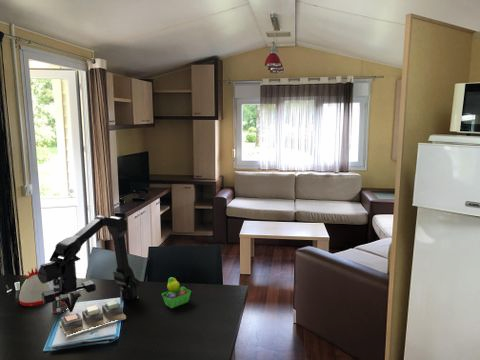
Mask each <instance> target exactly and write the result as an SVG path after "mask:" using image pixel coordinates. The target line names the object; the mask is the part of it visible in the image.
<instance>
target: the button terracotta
mask: <svg viewBox="0 0 480 360" xmlns="http://www.w3.org/2000/svg"><path fill="white" fill-rule="evenodd" d="M73 314H74V315H71V314H69V315H70V316H68V315H66V316H67V317H65V321H66V323H67V322H71V321H74V320H77V319H78V317H77V315H76V314H75V313H73Z"/></svg>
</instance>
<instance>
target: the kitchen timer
mask: <svg viewBox="0 0 480 360" xmlns="http://www.w3.org/2000/svg"><path fill="white" fill-rule="evenodd" d="M27 273H28V275H26V274H24V277H25V278H26V279H25V281H24V282H23V284H22V285H21V287H20V291H19V295H18V300H19V304H20V305H21V306H25V307H34V306H38V305H39V306H40V305H43V304H44V302H43V300H42V297H41V294H42V292H44V291H48V290H53V289H54V288H53V287H52V285H51V283H50V282H47V283H44V284H43V283H41V282H40V280H39V278H38V274H37V273H38V269H37V267H35V269H33V268H31V272H30V271H29V270H28V271H27ZM53 291H54V290H53Z"/></svg>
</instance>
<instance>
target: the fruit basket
mask: <svg viewBox="0 0 480 360" xmlns="http://www.w3.org/2000/svg"><path fill="white" fill-rule="evenodd" d="M166 286H167V287H166V288H167V291H166V292H165V291H164V292H162V293H161V297H162V298H163V301H164V305H166V306H167V307H168V308H170V309H173V308H177V307H179V306H181V305H182V306H183V305H184V304H187V303H189V300H190V297H191V294H192V291H191V290H190V289H187V288H186V287H185V286H181V285H180V282H179V281H177V279H176V278H175V277H172V276H171V277H169V278H168V280H167V285H166Z"/></svg>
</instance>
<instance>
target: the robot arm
mask: <svg viewBox="0 0 480 360" xmlns="http://www.w3.org/2000/svg"><path fill="white" fill-rule="evenodd" d="M104 227H106V228H107V231H108V233H109V234H110V235H111V237H112V241H113V246H114V247H113V248H114V254H115V261H116V266H117V267H116V269H115V270H114V271H113V272H112V273H113V280H114V281H115V282H116V283H117V285H118V286H119V287H120V290H119V293H120V294H119V296H120V299H121V301H123V300H124V301H123V302H124V303H129V302H132V301H136V300H139V298H140V297H139V296H138V289H137V288H138V287H139V286H140V283H141V282H140V279H137V278H136V277H135V273H134V270H133V269H132V267H131V266H130V264H129V257H128V251H127V250H128V249H127V244H126V236H125V235H126V233H127V230H128V222H127V219H126V218H124V217H120V216H114V215H112V216H110V217H107V216H104V215H101V214H100V215H99V214H98V215H96V216H95V217H94V218H93V219H91V221H90V222H88V223H87V224H86V225H85V226H84V227H82V228H81V229H80V230H79V231H77V232H76V233H75V234H73V235H72V236H69V237H66V238H64V239H63V240H61V241H59V242H58V243H56V245H55V247H54V251H53V253H52V255H51V256H50V258H49V260H48V261H49V262H47V263H42V264H40V266H39V268H38V269H37V271H38V273H37V274H38V278H39V280H40V282H41V283H43V284H44V283H47V282H49V283H50V282H52V284H53V285H52V286H53V287H54V286H56V285H58V286H59V289H61V291H57V292H54V290H48V291H44V292H42V294H41V297H42V300H43V302H44V303H43V304H46V305H48V304H50V303H51V304H52V302H54V301H55V300H56V297H59V299H60V300H61V301H64V302H65V303H66V305H67V307H68V309H67V311H68V312H69V313H73V311H74V310H75V309H74V308H75V305H76V303H77V301H78V299H79V298H81V297H82V294H81V291H84V290H85V291H86V292H87V293H92V292H93V293H94V292H95V291H97V287H96V283H94V281H93V280H92V279H90V280H86V281H82V282H81V284H80V285H78V283H77V279H78V277H77V272H76V271H77V269H76V267H77V266H76V262H78V261H79V260H81V258H80V257H79V256H77V254H79V252H80V251H81V248H82V247H83V245H84V244H85V243H86V242H87V241H88V240H89V239H91V238H92V237H93V236H94V235H95V234H96V233H97V232H99V231H100V230H101V229H102V228H104ZM60 257H61V258H60ZM68 295H69V296H68Z"/></svg>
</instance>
